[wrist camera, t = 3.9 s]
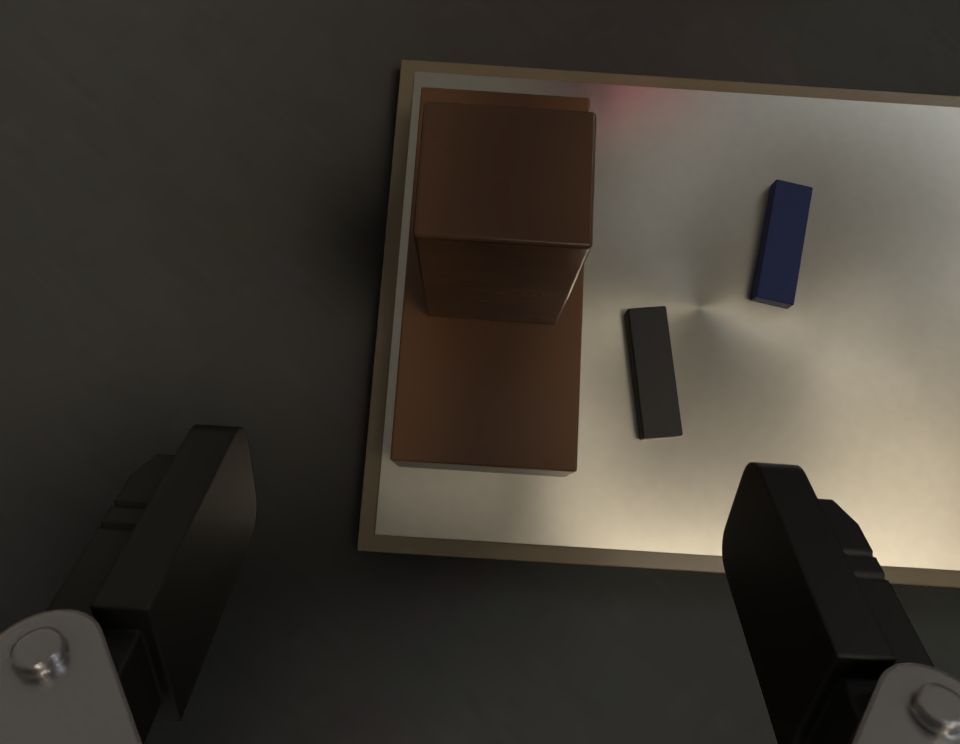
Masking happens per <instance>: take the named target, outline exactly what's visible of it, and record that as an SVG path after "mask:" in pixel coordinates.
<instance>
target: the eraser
mask: <svg viewBox="0 0 960 744" xmlns="http://www.w3.org/2000/svg"><path fill="white" fill-rule="evenodd" d="M596 127H597V116H596V113H594V112H590V99H589V98H580V97H565V96H550V95H535V94H520V93H505V92H490V91H475V90H460V89H444V88H429V87H422V89H421V97H420V109H419V121H418V133H417V144H416V156H415V168H414V180H413V192H412V204H411V216H410V228H409V240H408V252H407V264H406V275H405V287H404V299H403V311H402V323H401V335H400V347H399V359H398V371H397V383H396V395H395V406H394V418H393V430H392V442H391V454H390V459H391V460H392V461H393V462H394V463H395V464H396V465H397V466H399V467H410V468H426V469H442V470H458V471H474V472H490V473H506V474H522V475H538V476H554V477H566V476H568V475H570V474H572V473H574V472H576V471H577V455H578V427H579V398H580V370H581V342H582V314H583V286H584V263H585V261H586V258H587V256H588V254H589V252H590V250H591V248H592V245H593V217H594V187H595V157H596Z"/></svg>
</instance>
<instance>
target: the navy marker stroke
mask: <svg viewBox="0 0 960 744" xmlns="http://www.w3.org/2000/svg"><path fill="white" fill-rule="evenodd" d="M812 191H813V188H812V187H809V186H804V185H800V184H796V183H791V182H787V181H783V180H778V179H777V180H775V181H774V183H773V184H772V185H771V186H770V192H769V198H768V203H767V209H766V215H765V220H764V226H763V232H762V238H761V243H760V249H759V255H758V260H757V266H756V272H755V278H754V283H753V289H752V295H751V301H755V302H759V303H763V304H768V305H772V306H776V307H781V308H785V309H788V308H790V307H791V306H793V305H794V301H795V295H796V289H797V282H798V276H799V270H800V264H801V258H802V252H803V246H804V240H805V233H806V227H807V221H808V215H809V209H810V203H811V197H812Z"/></svg>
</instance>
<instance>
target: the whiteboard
mask: <svg viewBox="0 0 960 744" xmlns="http://www.w3.org/2000/svg"><path fill="white" fill-rule="evenodd" d="M422 87H429V88H444V89H460V90H475V91H490V92H505V93H520V94H535V95H550V96H565V97H580V98H589V99H590V112H594V113H596V116H597V127H596V157H595V187H594V217H593V245H592V248H591V250H590V252H589V254H588V256H587V258H586V261H585V263H584V286H583V314H582V342H581V370H580V398H579V427H578V455H577V471H576V472H574V473H572V474H570V475H568V476H566V477H554V476H538V475H522V474H506V473H490V472H474V471H458V470H442V469H426V468H410V467H399V466H397V465H396V464H395V463H394V462H393V461H392V460H391V459H390V454H391V442H392V430H393V418H394V406H395V395H396V383H397V371H398V359H399V347H400V335H401V323H402V311H403V299H404V287H405V275H406V264H407V252H408V240H409V228H410V216H411V204H412V192H413V180H414V168H415V156H416V144H417V133H418V121H419V109H420V97H421V89H422ZM777 179H778V180H783V181H787V182H791V183H796V184H800V185H804V186H809V187H812V188H813V191H812V197H811V203H810V209H809V215H808V221H807V227H806V233H805V240H804V246H803V252H802V258H801V264H800V270H799V276H798V282H797V289H796V295H795V301H794V305H793V306H791V307H790V308H788V309H785V308H781V307H776V306H772V305H768V304H763V303H759V302H755V301H751V295H752V289H753V283H754V278H755V272H756V266H757V260H758V255H759V249H760V243H761V238H762V232H763V226H764V220H765V215H766V209H767V203H768V198H769V192H770V186H771V185H772V184H773V183H774V181H775V180H777ZM657 306H666V310H667V318H668V325H669V333H670V341H671V348H672V356H673V363H674V371H675V379H676V386H677V394H678V402H679V409H680V417H681V424H682V432H683V435H682V436H680V437H676V438H664V439H651V440H640V436H639V428H638V420H637V411H636V403H635V395H634V386H633V378H632V370H631V361H630V353H629V345H628V336H627V328H626V320H625V312H626V311H627V309H629V308H643V307H657ZM750 462H760V463H775V464H791V465H799V466H800V467H801V468H802V469H803V470H804V472H805V474H806V476H807V478H808V480H809V482H810V484H811V486H812V488H813V490H814V492H815V494H816V496H817V498H818V499H831V500H833V501H835V502H836V503H837V504H838V505H839V506H840V507H841V508H842V509H843V510H844V511H845V512H846V513H847V514H848V515H849V516H850V517H851V518H852V519H853V520H854V521H855V522H857V523H858V524H859V526H860V528H861V530H862V532H863V534H864V536H865V538H866V539H867V541H868V543H869V545H870V547H871V549H872V551H873V557H876V558H877V560H878V562H879V564H880V566H881V568H882V569H883V571H884V573H885V580H888V581H889V583H890V584H901V585H917V586H934V587H950V588H960V96H946V95H931V94H916V93H901V92H886V91H871V90H856V89H841V88H826V87H811V86H796V85H781V84H765V83H750V82H735V81H720V80H705V79H690V78H675V77H660V76H645V75H630V74H615V73H600V72H585V71H570V70H555V69H540V68H525V67H509V66H494V65H479V64H464V63H449V62H434V61H419V60H404V59H403V60H402V61H401V69H400V80H399V91H398V102H397V113H396V124H395V135H394V146H393V157H392V168H391V179H390V190H389V201H388V212H387V224H386V235H385V246H384V257H383V268H382V279H381V290H380V301H379V312H378V323H377V334H376V345H375V356H374V367H373V378H372V389H371V401H370V412H369V423H368V434H367V445H366V456H365V467H364V478H363V489H362V500H361V511H360V522H359V533H358V544H357V550H358V551H367V552H383V553H400V554H416V555H432V556H448V557H464V558H481V559H497V560H513V561H529V562H545V563H561V564H578V565H594V566H610V567H626V568H642V569H659V570H675V571H691V572H707V573H723V574H726V573H725V570H724V565H723V559H722V539H723V533H724V529H725V525H726V522H727V519H728V516H729V513H730V510H731V507H732V504H733V501H734V498H735V495H736V492H737V489H738V486H739V483H740V480H741V477H742V474H743V471H744V469H745V467H746V466H747V464H748V463H750Z"/></svg>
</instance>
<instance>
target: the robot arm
mask: <svg viewBox="0 0 960 744" xmlns="http://www.w3.org/2000/svg"><path fill="white" fill-rule="evenodd" d="M256 505H257V504H256V493H255V486H254V479H253V472H252V465H251V458H250V451H249V445H248V438H247V434H246V431H245V430H244V428H242V427H227V426H212V425H194V426H193V427H192V428H191V429H190V430H189V432H188V434H187V435H186V437H185V439H184V441H183V442H182V444H181V446H180V448H179V449H178V451H177V453H176V455H159V454H157V455H156V456H155V457H153V458H152V459H151V460H150V461H148V462H147V463H146V464H144V465H143V466H142V467H141V468H139V469H138V470H137V471H136V472H134V473H133V474H132V475H130V477H129V478H128V480H127V482H126V483H125V485H124V486H123V488H122V490H121V491H120V493H119V495H118V496H117V498H116V499H115V501H114V506H111V507H110V509H109V511H108V512H107V514H106V515H105V517H104V519H103V520H102V522H101V527H100V528H97V530H96V531H95V533H94V535H93V536H92V538H91V539H90V541H89V543H88V544H87V546H86V547H85V549H84V551H83V552H82V554H81V555H80V557H79V559H78V560H77V562H76V563H75V565H74V567H73V568H72V570H71V571H70V573H69V575H68V576H67V578H66V579H65V581H64V583H63V584H62V586H61V587H60V589H59V591H58V592H57V594H56V596H55V597H54V599H53V600H52V602H51V604H50V605H49V607H48V608H47V609H46V611H45V612H41V613H38V614H35V615H32V616H29V617H27V618H25V619H23V620H21V621H19V622H17V623H15V624H14V625H12V626H10V627H9V628H7V629H6V630H5V631H3V632H2V633H1V634H0V744H144V742H145V740H146V738H147V735H148V733H149V730H150V728H151V726H152V723H153V721H154V719H160V720H176V721H181V719H182V716H183V714H184V711H185V708H186V706H187V703H188V701H189V698H190V695H191V693H192V690H193V688H194V685H195V682H196V680H197V677H198V675H199V672H200V669H201V667H202V664H203V662H204V659H205V657H206V654H207V651H208V649H209V646H210V644H211V641H212V638H213V636H214V633H215V631H216V628H217V625H218V623H219V620H220V618H221V615H222V612H223V610H224V607H225V605H226V602H227V599H228V597H229V594H230V592H231V589H232V586H233V584H234V581H235V579H236V576H237V573H238V571H239V568H240V566H241V563H242V560H243V558H244V555H245V553H246V550H247V547H248V545H249V542H250V540H251V537H252V534H253V530H254V525H255V519H256ZM722 559H723V565H724V570H725V573H726V576H727V580H728V583H729V586H730V589H731V593H732V596H733V599H734V602H735V606H736V609H737V612H738V615H739V619H740V622H741V625H742V628H743V632H744V635H745V638H746V641H747V645H748V648H749V651H750V654H751V658H752V661H753V664H754V667H755V671H756V674H757V677H758V680H759V684H760V687H761V690H762V693H763V697H764V700H765V703H766V706H767V710H768V713H769V716H770V719H771V723H772V726H773V729H774V732H775V736H776V739H777V742H778V744H960V680H959V679H957V678H955V677H954V676H952V675H950V674H948V673H946V672H944V671H942V670H940V669H937V668H935V667H934V665H933V663H932V661H931V660H930V658H929V656H928V654H927V652H926V650H925V648H924V646H923V645H922V643H921V641H920V639H919V637H918V635H917V633H916V631H915V630H914V628H913V626H912V624H911V622H910V620H909V618H908V616H907V615H906V613H905V611H904V609H903V607H902V605H901V603H900V601H899V600H898V598H897V596H896V594H895V592H894V590H893V588H892V586H891V584H890V583H889V581H888V580H885V573H884V571H883V569H882V568H881V566H880V564H879V562H878V560H877V558H876V557H873V551H872V549H871V547H870V545H869V543H868V541H867V539H866V538H865V536H864V534H863V532H862V530H861V528H860V526H859V524H858V523H857V522H855V521H854V520H853V519H852V518H851V517H850V516H849V515H848V514H847V513H846V512H845V511H844V510H843V509H842V508H841V507H840V506H839V505H838V504H837V503H836V502H835V501H833V500H831V499H818V498H817V496H816V494H815V492H814V490H813V488H812V486H811V484H810V482H809V480H808V478H807V476H806V474H805V472H804V470H803V469H802V468H801V467H800V466H799V465H791V464H775V463H760V462H750V463H748V464H747V466H746V467H745V469H744V471H743V474H742V477H741V480H740V483H739V486H738V489H737V492H736V495H735V498H734V501H733V504H732V507H731V510H730V513H729V516H728V519H727V522H726V525H725V529H724V533H723V539H722Z"/></svg>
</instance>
